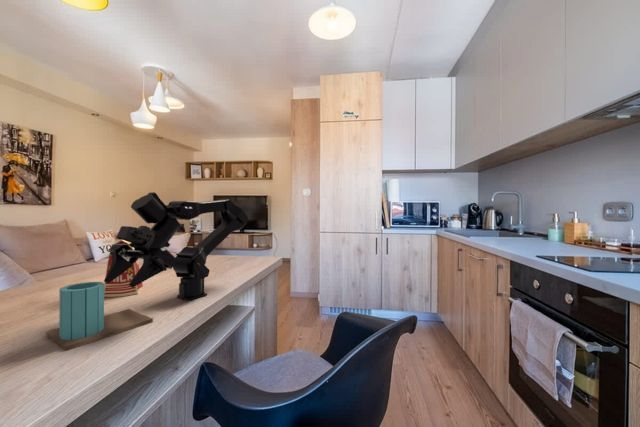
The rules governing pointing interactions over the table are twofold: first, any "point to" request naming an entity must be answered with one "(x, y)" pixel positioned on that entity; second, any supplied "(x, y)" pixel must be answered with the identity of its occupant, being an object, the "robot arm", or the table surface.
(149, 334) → the table surface
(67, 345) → the peg board
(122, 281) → the milk carton
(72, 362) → the table surface
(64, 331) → the teal collar
